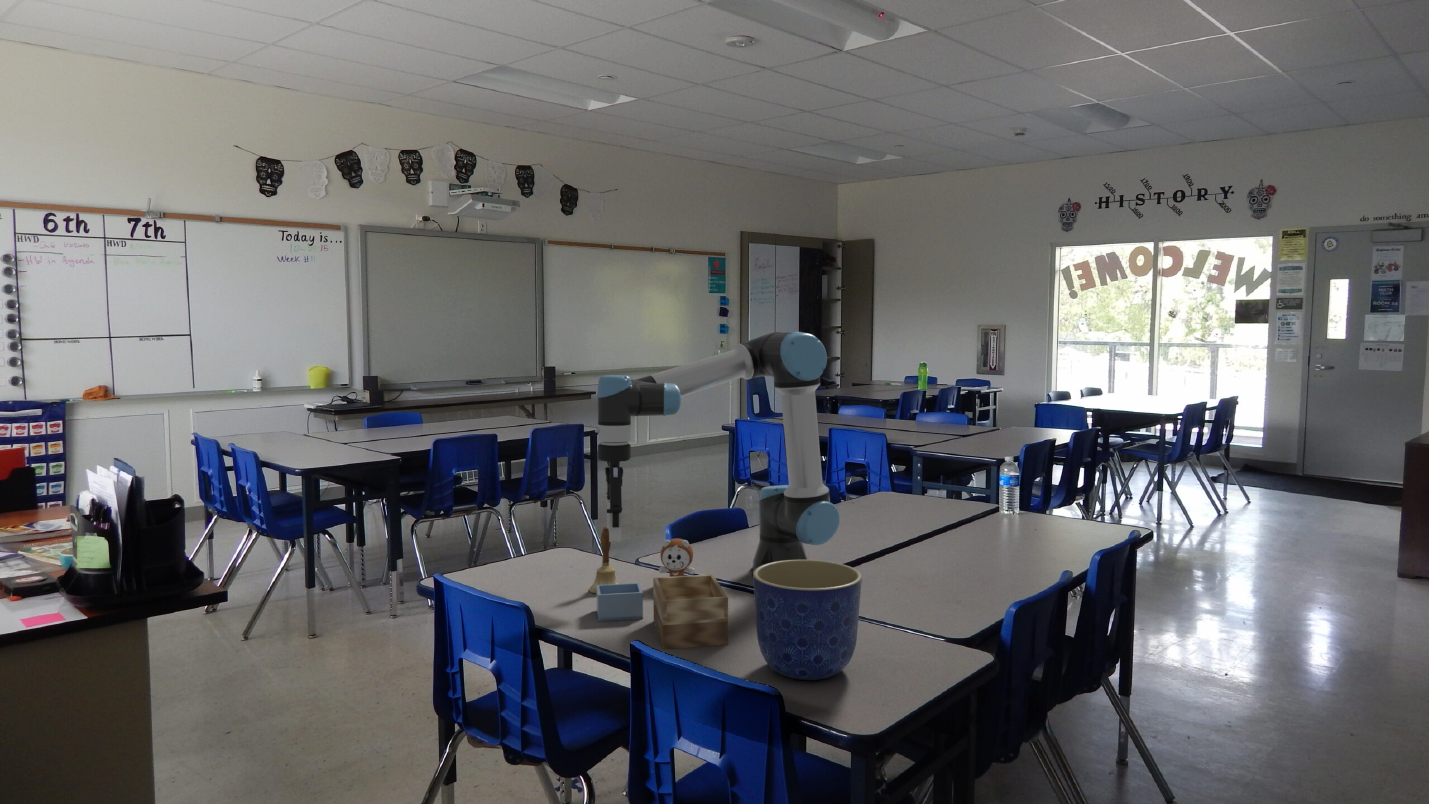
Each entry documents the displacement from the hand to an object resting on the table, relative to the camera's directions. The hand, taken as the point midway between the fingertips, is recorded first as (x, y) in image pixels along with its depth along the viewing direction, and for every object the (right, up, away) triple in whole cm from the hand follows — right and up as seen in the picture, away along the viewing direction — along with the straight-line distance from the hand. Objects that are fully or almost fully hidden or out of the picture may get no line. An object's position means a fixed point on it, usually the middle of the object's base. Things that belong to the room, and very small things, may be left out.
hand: (614, 534), depth 205 cm
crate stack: (+18, -19, -13) cm, 29 cm away
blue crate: (+1, -18, 0) cm, 18 cm away
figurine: (+14, -17, +22) cm, 31 cm away
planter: (+41, -21, -34) cm, 57 cm away
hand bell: (-4, -17, +19) cm, 26 cm away
